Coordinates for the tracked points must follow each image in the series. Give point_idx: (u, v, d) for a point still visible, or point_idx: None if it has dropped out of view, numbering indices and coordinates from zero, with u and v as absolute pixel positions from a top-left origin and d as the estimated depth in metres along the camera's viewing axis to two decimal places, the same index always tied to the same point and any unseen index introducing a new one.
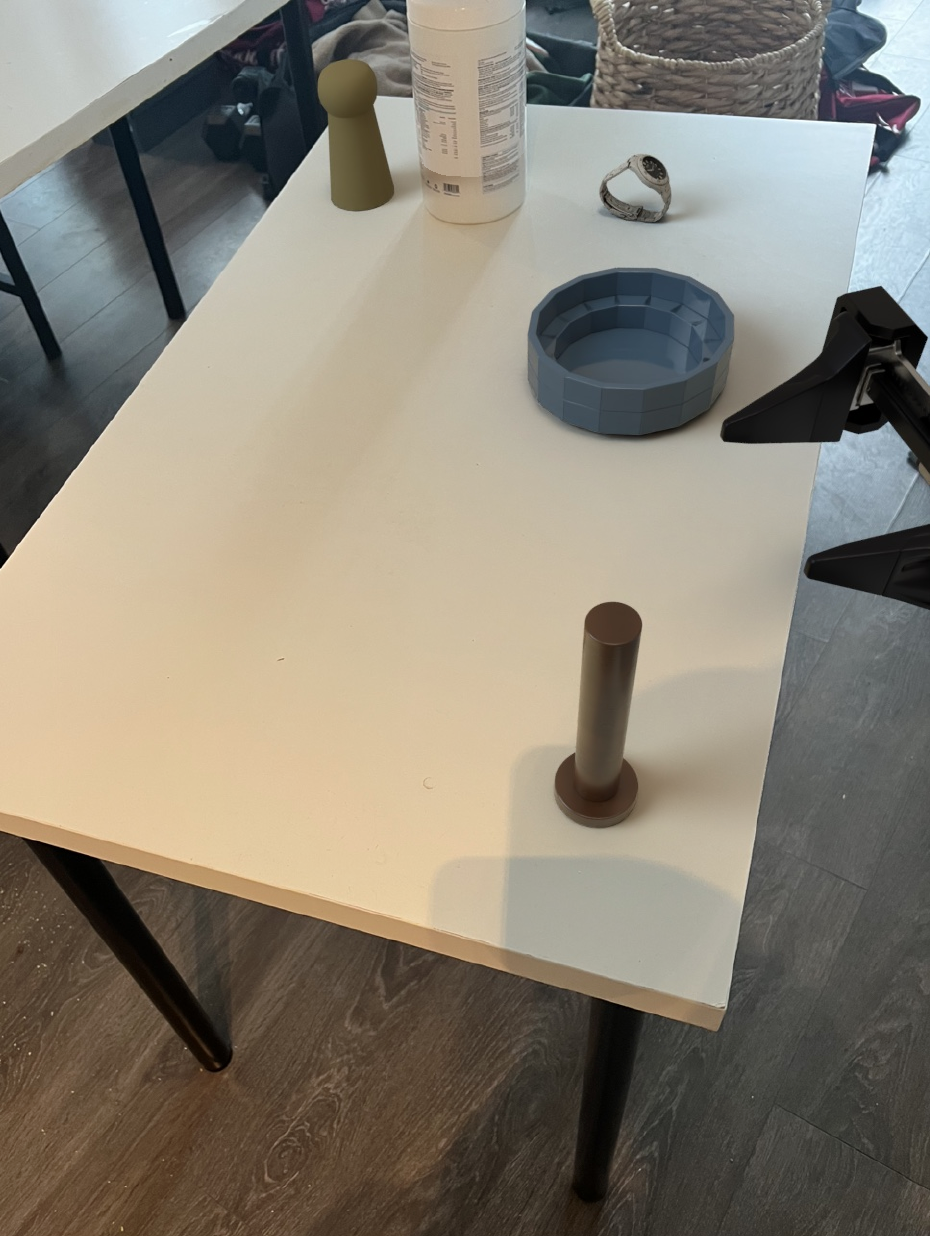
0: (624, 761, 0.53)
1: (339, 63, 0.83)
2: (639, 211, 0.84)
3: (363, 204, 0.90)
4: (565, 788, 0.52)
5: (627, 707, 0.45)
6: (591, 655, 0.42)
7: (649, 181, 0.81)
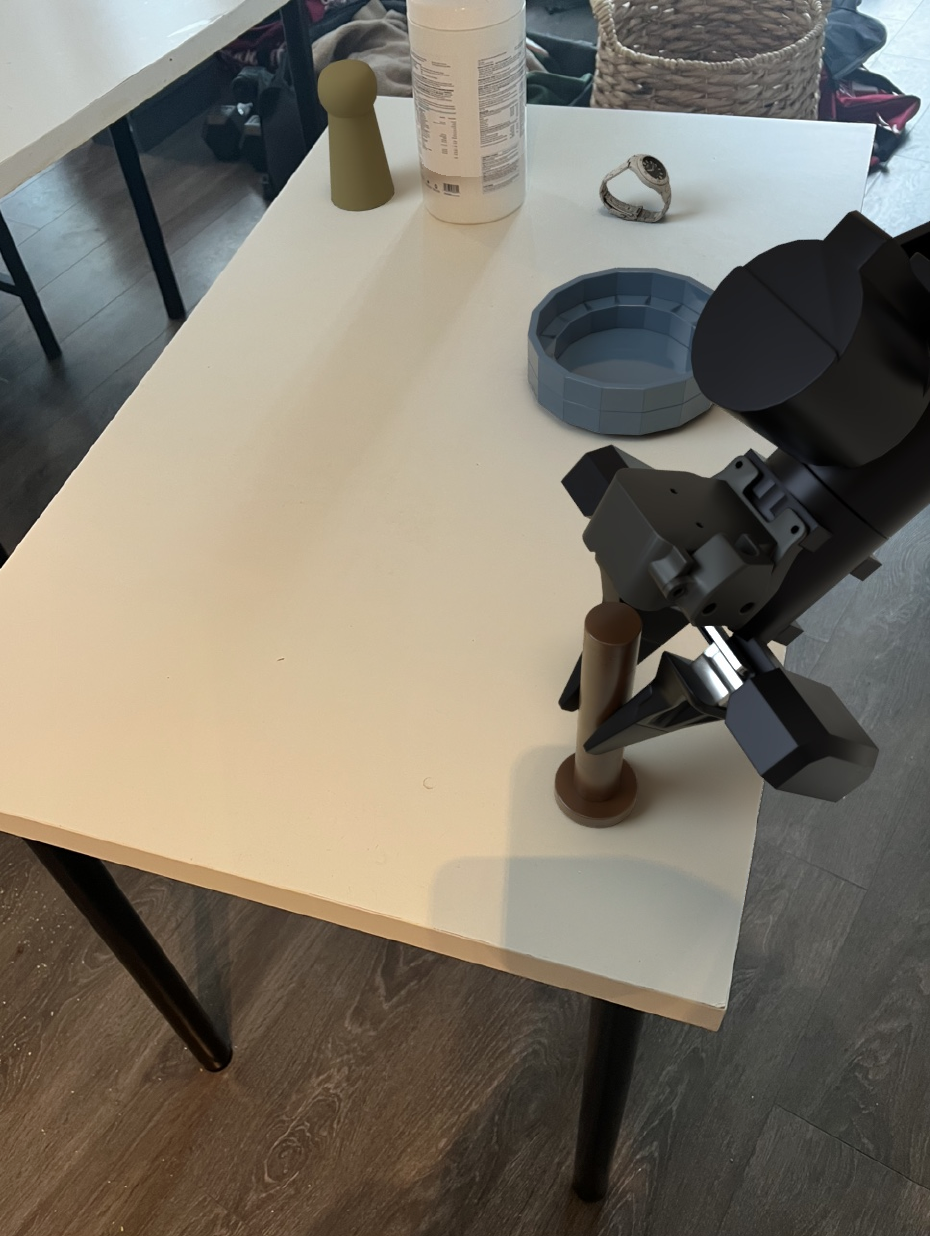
0: (624, 761, 0.53)
1: (339, 63, 0.83)
2: (639, 211, 0.84)
3: (363, 204, 0.90)
4: (565, 788, 0.52)
5: None
6: (591, 655, 0.42)
7: (649, 181, 0.81)
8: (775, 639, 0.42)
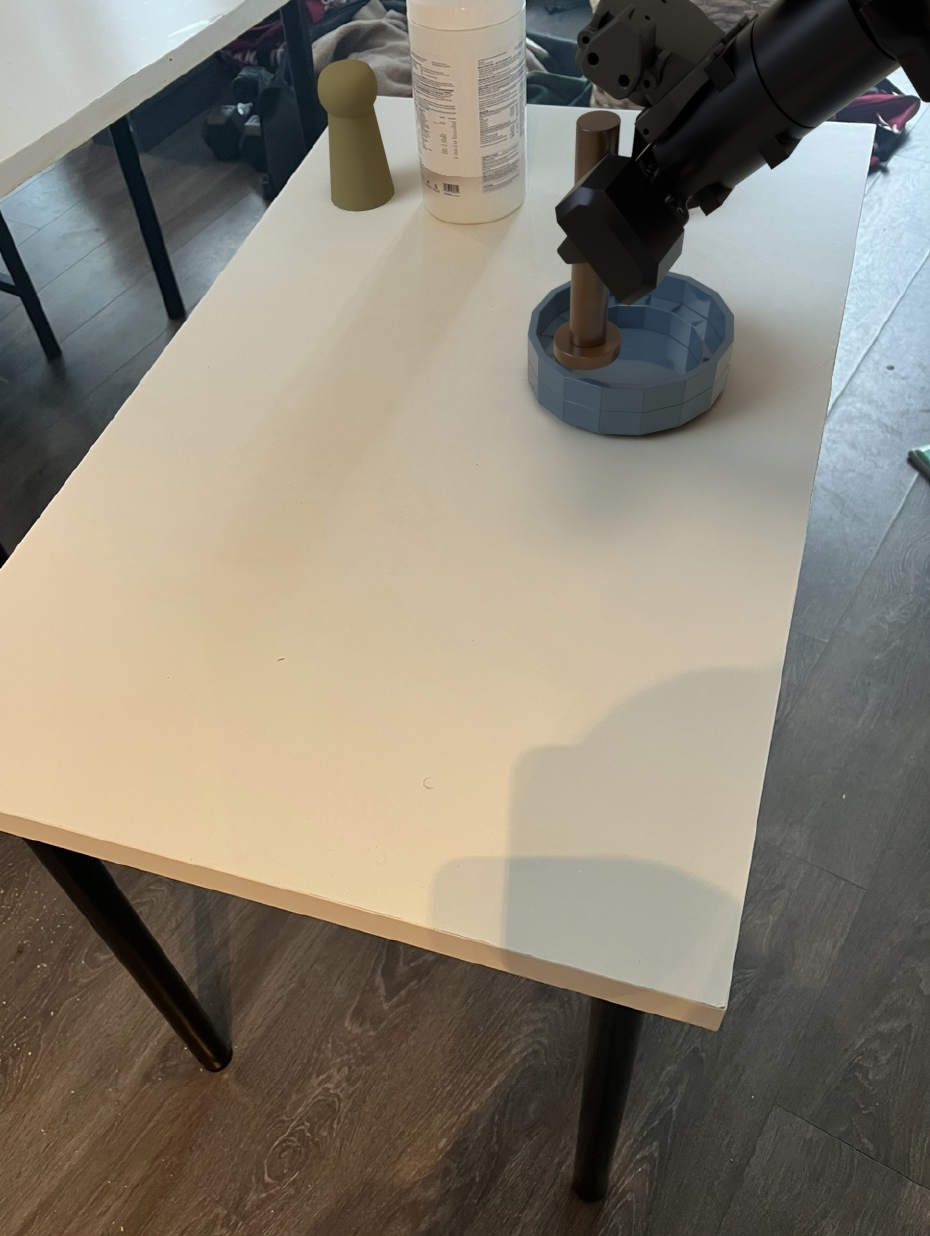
0: (619, 338, 0.63)
1: (339, 63, 0.83)
2: None
3: (363, 204, 0.90)
4: (566, 328, 0.65)
5: None
6: None
7: None
8: (695, 197, 0.51)
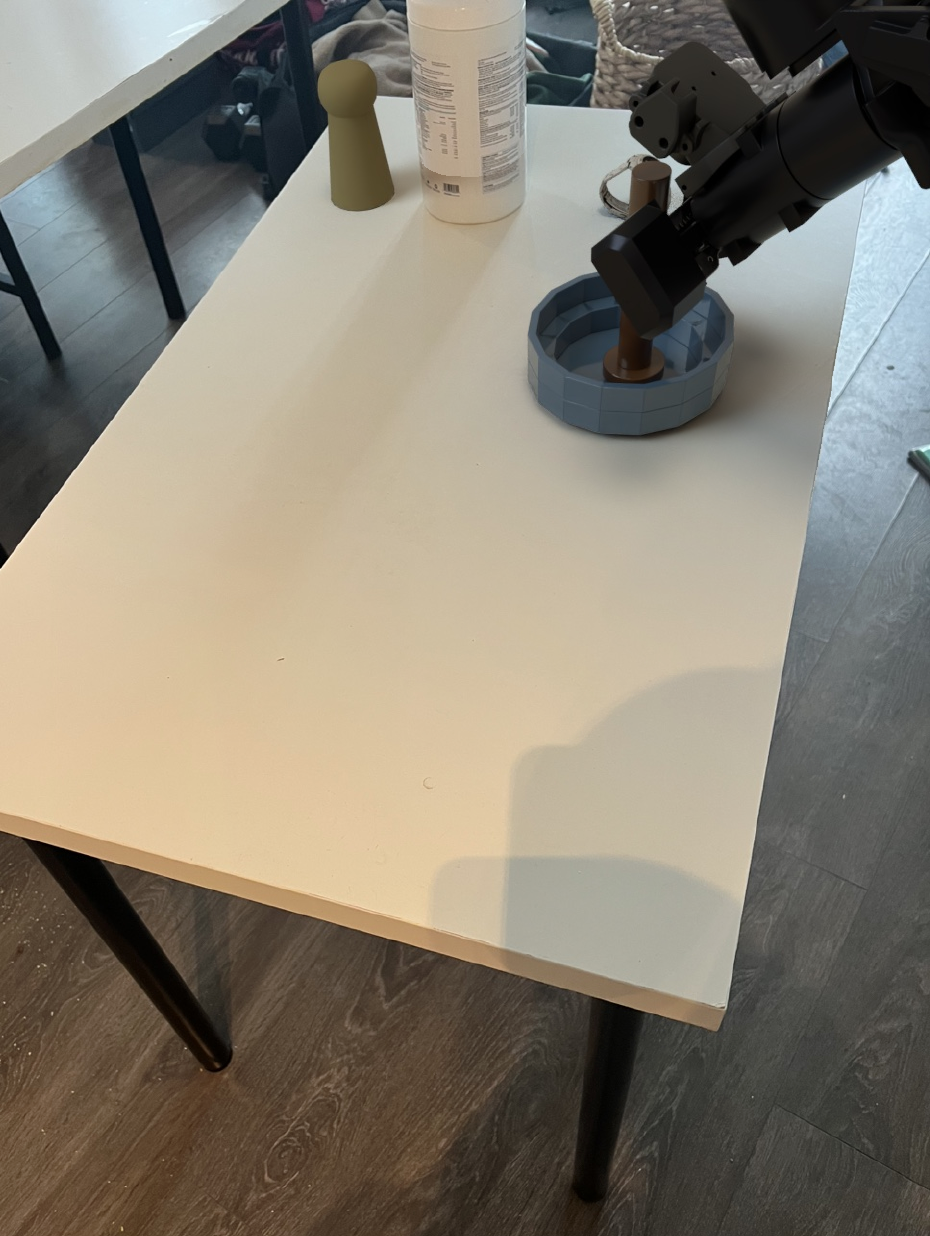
0: (662, 365, 0.69)
1: (339, 63, 0.83)
2: None
3: (363, 204, 0.90)
4: (617, 350, 0.71)
5: None
6: (630, 187, 0.60)
7: None
8: (724, 248, 0.57)
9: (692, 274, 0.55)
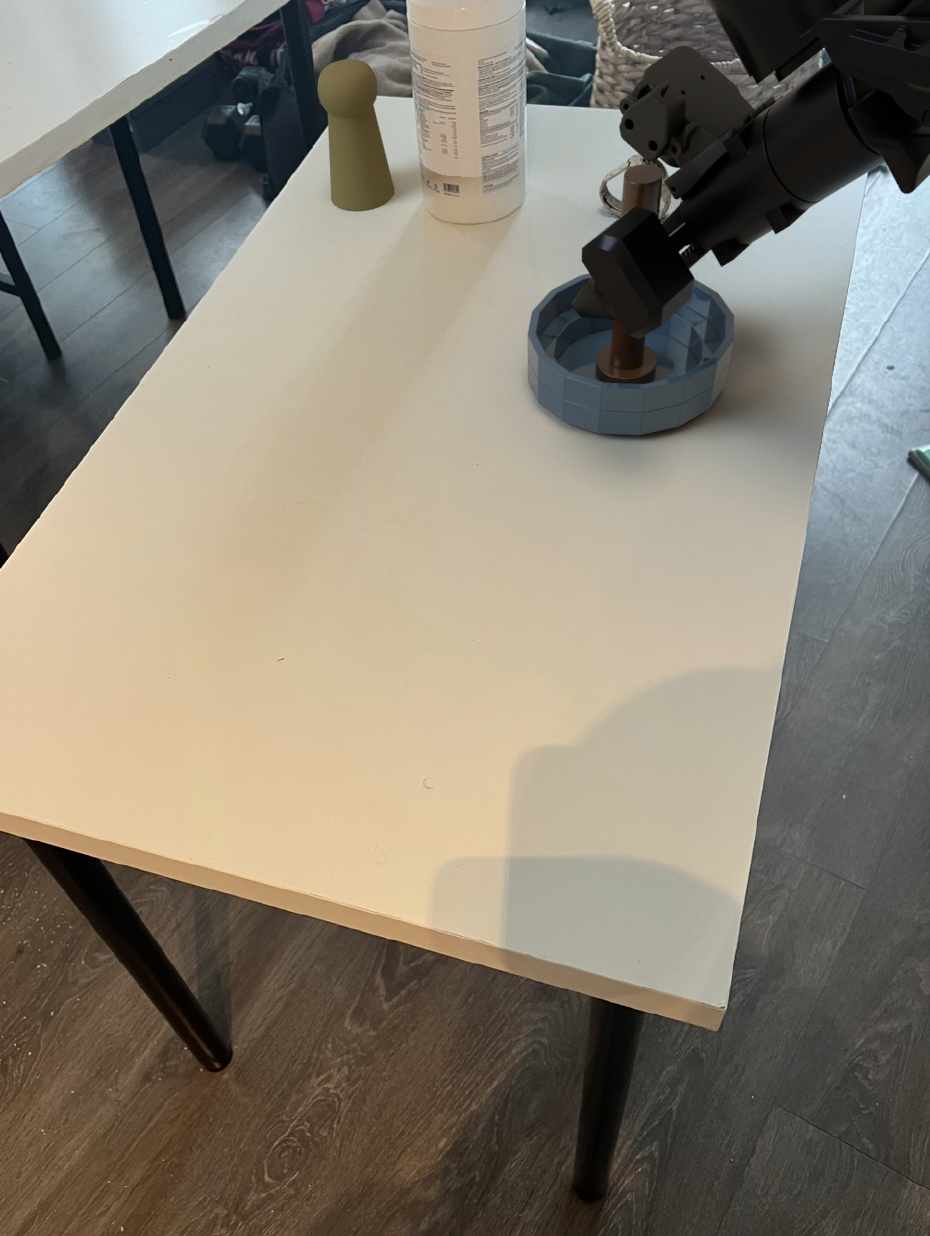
0: (654, 364, 0.71)
1: (339, 63, 0.83)
2: None
3: (363, 204, 0.90)
4: (610, 349, 0.72)
5: None
6: None
7: None
8: (712, 249, 0.58)
9: (680, 274, 0.56)
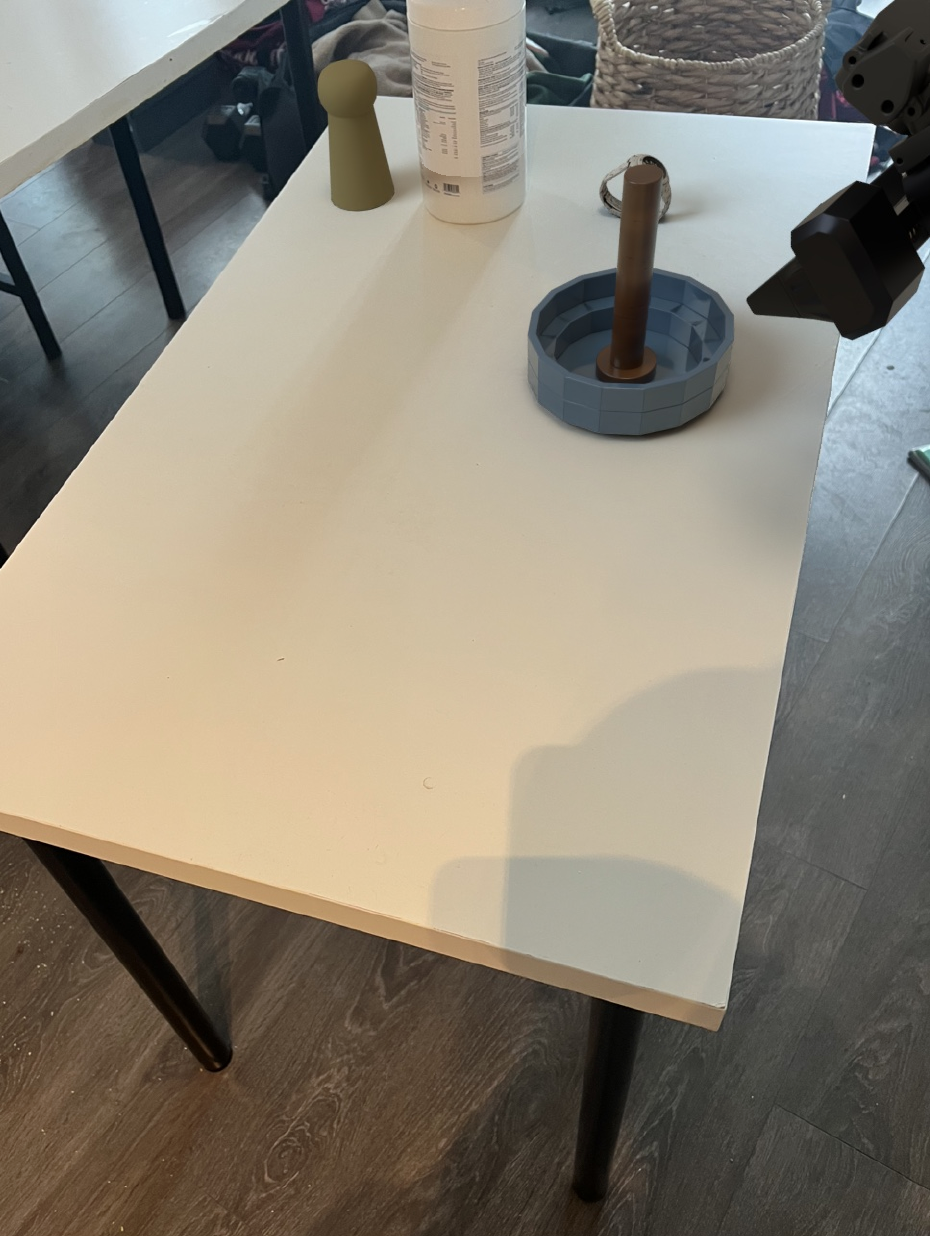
0: (654, 364, 0.71)
1: (339, 63, 0.83)
2: None
3: (363, 204, 0.90)
4: (610, 349, 0.72)
5: (634, 264, 0.64)
6: None
7: None
8: None
9: (911, 263, 0.46)
